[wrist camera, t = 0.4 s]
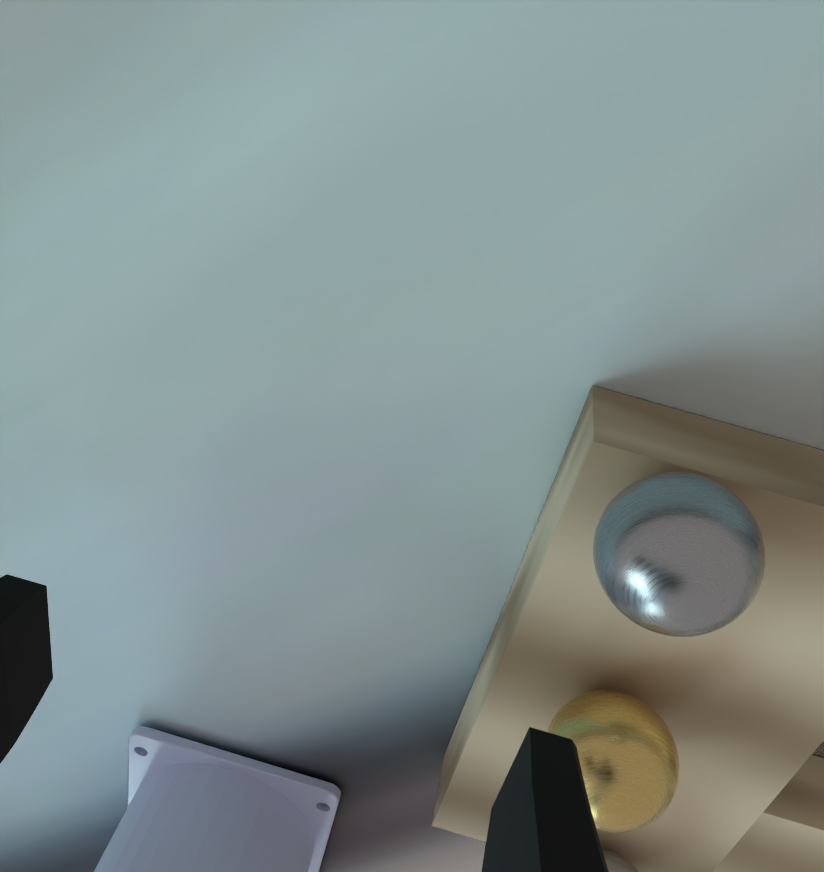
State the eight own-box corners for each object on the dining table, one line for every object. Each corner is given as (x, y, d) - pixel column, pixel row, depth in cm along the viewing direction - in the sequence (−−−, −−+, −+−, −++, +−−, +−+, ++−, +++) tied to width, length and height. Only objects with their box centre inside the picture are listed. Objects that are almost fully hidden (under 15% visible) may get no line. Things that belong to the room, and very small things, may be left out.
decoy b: (710, 578, 17) (733, 691, 15) (571, 538, 18) (571, 644, 15) (776, 466, 16) (816, 571, 13) (622, 423, 16) (631, 518, 13)
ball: (644, 759, 21) (654, 876, 18) (530, 725, 21) (522, 837, 18) (693, 684, 19) (711, 802, 17) (567, 647, 19) (566, 758, 17)
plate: (875, 887, 26) (901, 969, 24) (443, 756, 26) (431, 825, 24) (1230, 564, 18) (1316, 646, 16) (592, 385, 18) (594, 441, 16)
